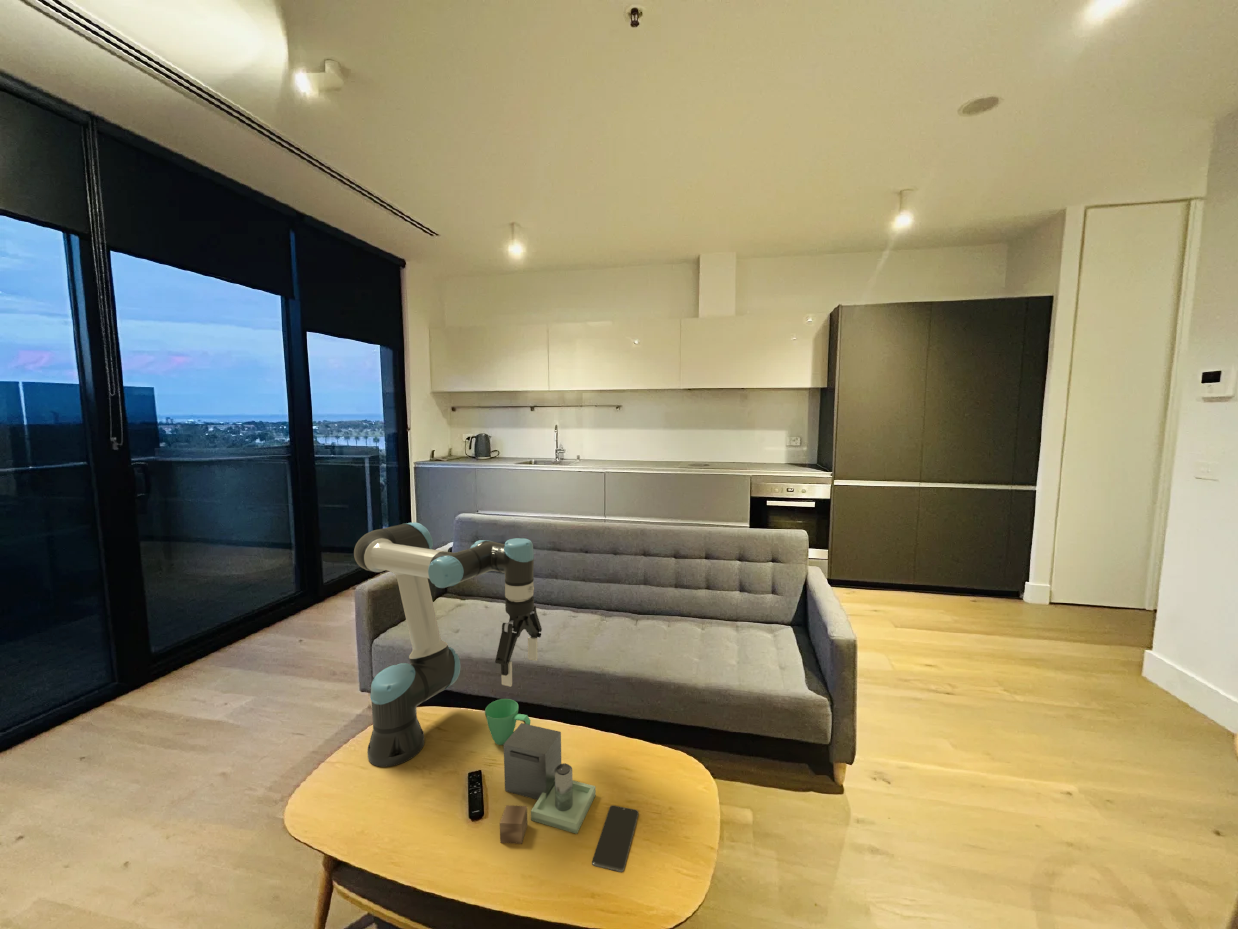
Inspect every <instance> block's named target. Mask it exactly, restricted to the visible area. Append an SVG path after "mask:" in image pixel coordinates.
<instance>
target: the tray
mask: <svg viewBox="0 0 1238 929" xmlns="http://www.w3.org/2000/svg"><path fill="white" fill-rule="evenodd" d="M553 783H554V784H553ZM553 783H552V785H551V786H550V788H549V789H551V791H549V789H548V791H549V792H548V791H547V792H548V796H547V793H543V792H542V794H541V796H540V797H539V799H538V800H536V802H535V804H534V805H533V807H532V808H531V810H530V820H531V821H532V822H535V823H539V824H541V825H545V826H547V827H548V826H549V827H553V828H556V829H559V830H563V831H565V832H569V833H573V834H576V835H577V834H578V833H579V831H580V828H581V826H582V824H583V823H584V820H585V818H586V816H587V814H588V812H589V810H590V807H591V805H592V803H593V801H594V800H595V797H596V793H597V792H596V786H595V785H592V784H587V783H584V782H580V781H576V780H573V805H572V807H571V808H570V809H569V810H567V811H559V810H557V809H556V807H555V780H554V781H553ZM553 786H554V787H553ZM551 787H553V789H552V788H551Z"/></svg>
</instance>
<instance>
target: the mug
mask: <svg viewBox="0 0 1238 929" xmlns="http://www.w3.org/2000/svg"><path fill="white" fill-rule="evenodd" d="M484 714H485V719H486V721H487V722H486V723H487V726H488V730H489V733H490V735H491V737H492V739H493V742H494V744H496V745H499V746H504V743H505V742H506V741H507V739H508V738H509V737H510V736H511V735H512V733H513V732H514V731H515V730H516V725H517V721H520V722H522V723H524V724H528V725H531V719H530V717H529V716H528V714H521V713H519V704H518V702H517V701H515V700H513V699H510V698H501V699H497V700H495V701H494V700H493V701H492V702H491V703H489V704H487V705H486V707H485V710H484Z"/></svg>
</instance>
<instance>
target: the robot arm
mask: <svg viewBox="0 0 1238 929" xmlns="http://www.w3.org/2000/svg"><path fill="white" fill-rule="evenodd" d="M433 546H434V542H433V537H432V535H431V533H430V531H429V530H428V528H427V527H426V526H424V525H423V524H421V523H419V522H414V521H413V522H408V523H407V522H406V523H402V524H398V525H391V526H389V527H384V528H380V529H375V530H372V531H369V532H367V533H365V534H364V535H362V536H361V537H360V538H359V539H358V541H357V542H356V543H355V546H354V550H353V556H354V560H355V562H356V564H357V565H358V566H359V567H360V568H362V569H364V570H365V571H369V572H374V573H382V572H384V571H389V572H390V573H393V574H394V575H395V576H396V580H397V585H398V588H399V593H400V594H399V595H400V598H401V603H402V607H403V611H404V615H405V616H404V617H405V620H406V621H405V622H406V625H407V630H408V633H409V634H408V635H409V639H410V643H411V648H412V651H411V652H410V654H409V656H408V660H409V663H408V662H402V663H398V664H392V665H389V666H387V667H386V668H384V669H381V671H380V672H378V673H376V675H375V676H374V677H373V679H372V682H371V685H370V696H369V698H370V701H371V716H372V732H371V735H370V740H369V743H368V746H367V760H368V762H370V764H371V765H373V766H376V767H380V768H381V767H382V768H383V767H385V768H387V767H394V766H398V765H400V764H403V763H405V762H407V761H409V760H411V759H412V758H414V757H415V756H416V755H417V754H419V752H421V751H422V749H423V747H424V745H425V733H424V730H423V729H422V726H421V724H420V722H419V719H418V715H417V711H418V710H417V709H418V708H417V706H419V705H420V704H422V703H424V702H426V701H427V700H429V699H431V698H432V697H434V696H436V695H438V694H439V693H441V692H444V691H445V690H447V689H448V688H449V687H450V686H452V685H454V683H455V682H456V681H458V678H459V677H460V673H461V660H460V657H459V654H458V653H456V649H454V648H453V647H451V646H449V644H448V643H447V642H446V641H444V640H443V639H442V637H441V633H440V628H439V624H438V620H437V615H436V610H435V606H434V602H433V597H432V592H431V588H430V583H429V581H430V582H431V584H433V585H434V586H435V587H436V588H439V589H445V588H447V587H453V586H456V585H458V584H460V583H462V582H465V581H467V580H470V579H472V578H475V577H478V576H481V575H483V574H486V573H489V572H491V571H492V572H493V571H494V572H497V573H502V574H504V597H505V600H504V601H505V602H504V603H505V607H504V609H505V612H506V614H508V616H509V619H508V622H502V625H501V635H500V638H499V643H498V646H497V653H496V656H495V662H494V663H495V664H498V665H500V674H501V675H500V676H501V678H500V679H501V685H502V686H506V687H512V686H513V661H511V659H512V657H513V653H514V649H515V646H516V644H517V641H518V638H520V637H521V634H522V632H524V630H525V632H526V633H527V634H528V635H529V636H528V637H527V660H530V661H535V662H537V661H538V659H539V656H538V649H539V648H538V638H541V637H542V631H543V628H542V625H541V622H540V618H539V616H538V613H537V606H536V605H535V598H534V594H535V593H534V590H535V586H534V561H535V560H534V559H535V554H534V544H533V542H532V540H530V539H528V538H522V537H521V538H519V537H517V538H516V537H515V538H510V539H507V540H506V541H505V543H500V542H496V541H493V540H485V539H484V540H482V539H480V540H477V541H475V542H474V543H473V544H472V545H470V548H467V549H463V550H460V551H457V552H450V551H444V550H438V549H433Z"/></svg>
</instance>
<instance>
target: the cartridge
mask: <svg viewBox="0 0 1238 929" xmlns="http://www.w3.org/2000/svg"><path fill="white" fill-rule="evenodd" d="M554 772H555V807H556V809H557V810H559V811H567V810H569V809H570V808H571V807H572V805H573V781H574V780H573V767H572V766H571V765H569V764H568V763H565V762H564V763H561V764H560V765H558V766H557V767H556V768H555V771H554Z"/></svg>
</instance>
